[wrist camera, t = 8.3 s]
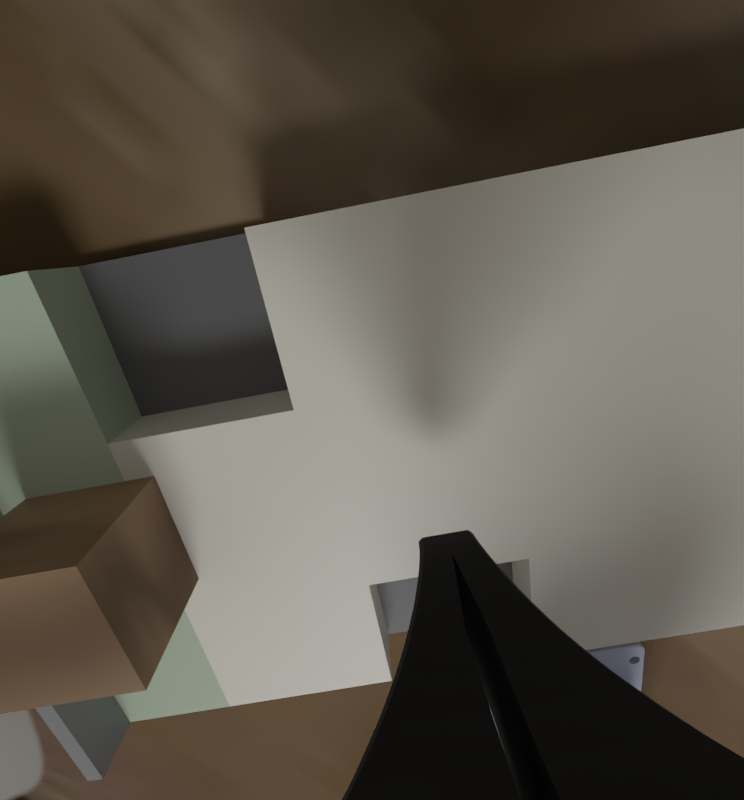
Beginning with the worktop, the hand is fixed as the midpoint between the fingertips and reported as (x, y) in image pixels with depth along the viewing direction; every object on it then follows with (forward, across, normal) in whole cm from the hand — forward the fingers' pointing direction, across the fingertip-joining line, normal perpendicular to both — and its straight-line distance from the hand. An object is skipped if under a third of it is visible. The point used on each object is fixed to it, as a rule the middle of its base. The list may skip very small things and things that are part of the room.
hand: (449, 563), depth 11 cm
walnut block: (+3, +11, 0) cm, 11 cm away
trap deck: (+6, 0, 0) cm, 6 cm away
